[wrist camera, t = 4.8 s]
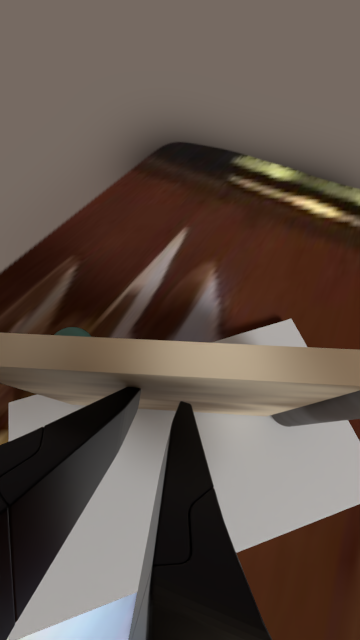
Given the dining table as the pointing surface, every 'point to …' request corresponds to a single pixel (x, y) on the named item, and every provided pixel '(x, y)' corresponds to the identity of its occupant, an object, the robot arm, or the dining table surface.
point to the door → (188, 375)
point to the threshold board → (228, 479)
